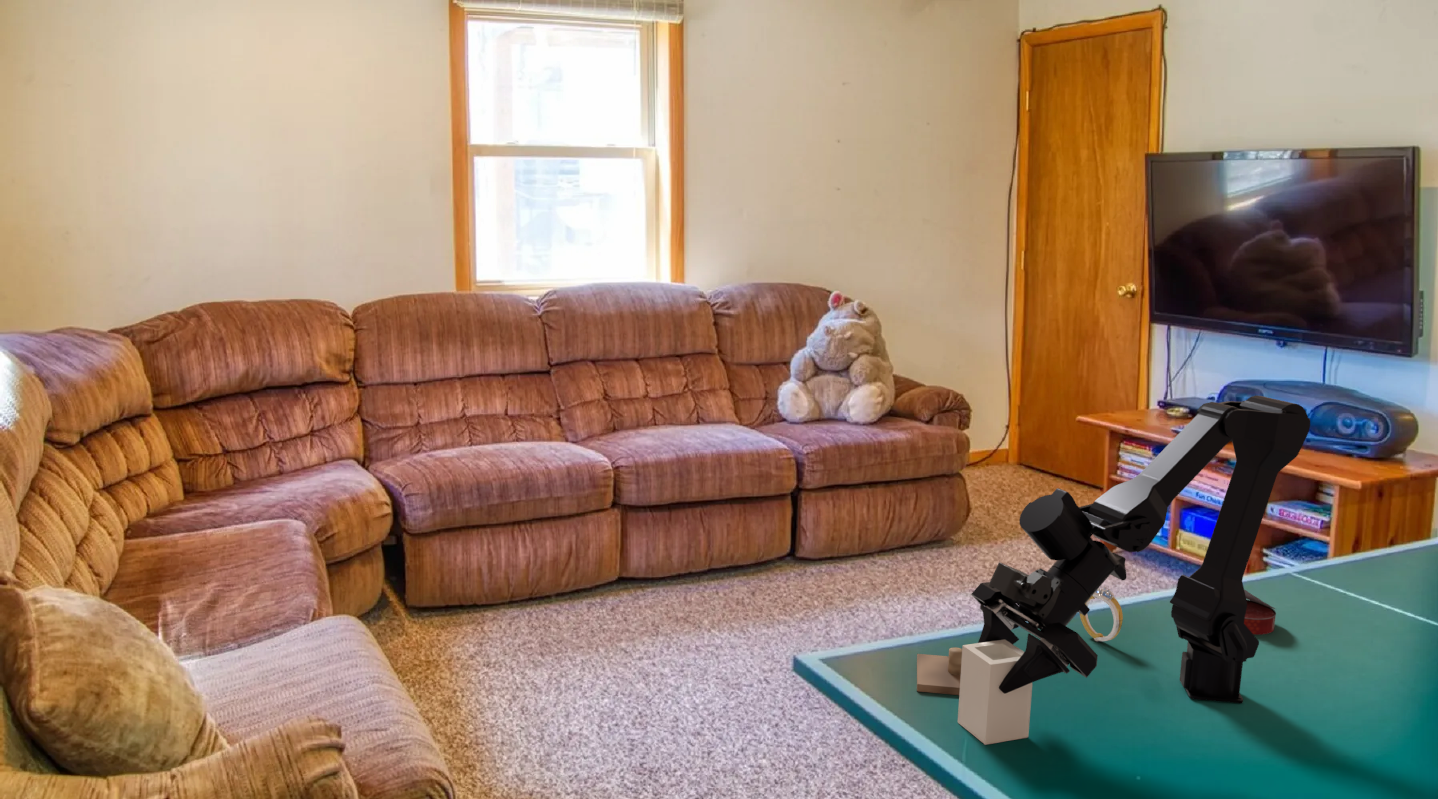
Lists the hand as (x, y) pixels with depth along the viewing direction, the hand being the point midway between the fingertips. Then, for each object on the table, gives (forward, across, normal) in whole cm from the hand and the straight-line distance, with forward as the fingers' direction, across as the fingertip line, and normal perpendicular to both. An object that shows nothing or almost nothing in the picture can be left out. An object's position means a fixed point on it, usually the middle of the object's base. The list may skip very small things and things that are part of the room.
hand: (986, 680), depth 138 cm
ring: (-18, -19, +28) cm, 38 cm away
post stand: (+1, -14, +8) cm, 16 cm away
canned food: (-36, -18, +46) cm, 61 cm away
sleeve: (+4, 0, +6) cm, 7 cm away
